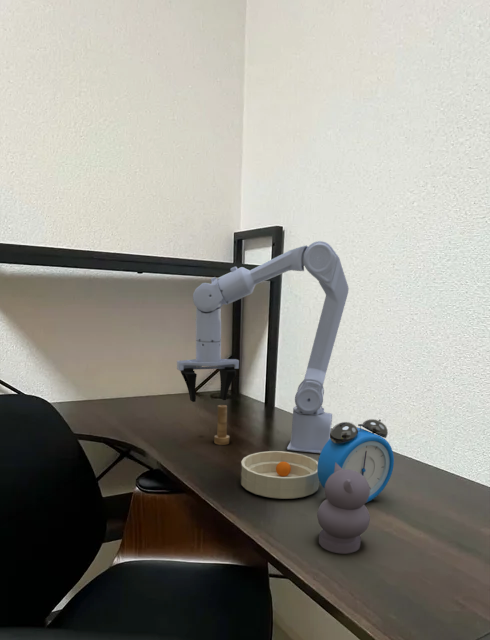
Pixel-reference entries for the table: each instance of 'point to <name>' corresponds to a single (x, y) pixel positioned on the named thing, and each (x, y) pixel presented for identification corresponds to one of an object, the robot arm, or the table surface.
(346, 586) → the table surface
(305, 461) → the bowl
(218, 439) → the muddler
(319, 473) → the alarm clock
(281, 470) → the ball
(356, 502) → the cat figurine
